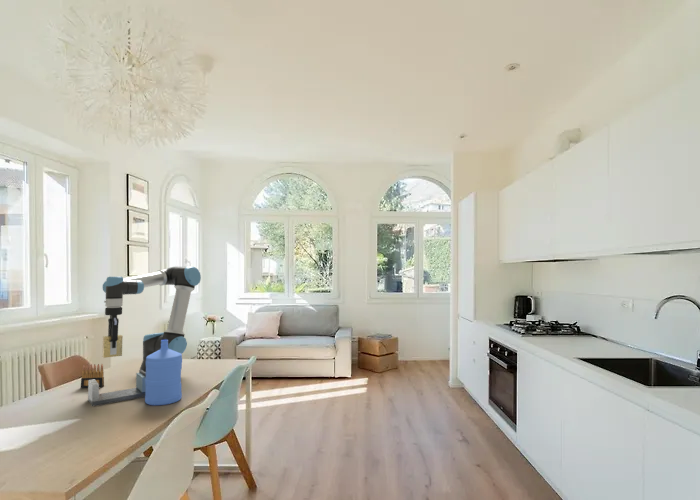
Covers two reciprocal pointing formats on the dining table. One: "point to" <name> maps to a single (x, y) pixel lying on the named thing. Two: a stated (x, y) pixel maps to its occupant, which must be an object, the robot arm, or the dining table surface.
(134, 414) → the dining table surface
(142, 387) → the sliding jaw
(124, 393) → the grey l-shaped bracket
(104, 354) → the brass block
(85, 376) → the ammunition clip
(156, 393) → the water jug
